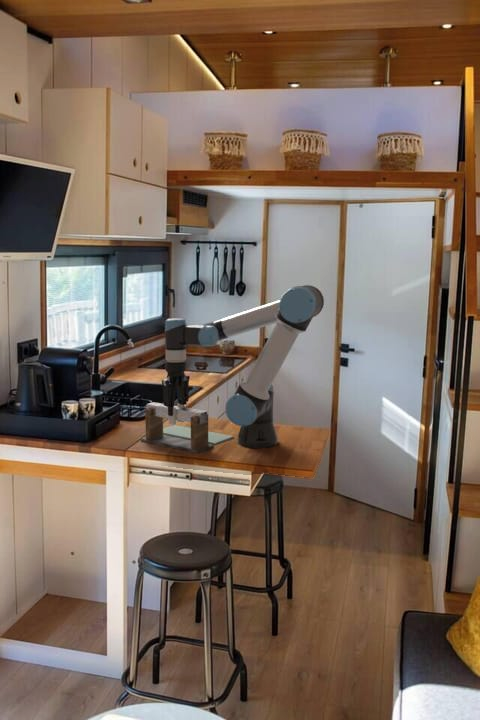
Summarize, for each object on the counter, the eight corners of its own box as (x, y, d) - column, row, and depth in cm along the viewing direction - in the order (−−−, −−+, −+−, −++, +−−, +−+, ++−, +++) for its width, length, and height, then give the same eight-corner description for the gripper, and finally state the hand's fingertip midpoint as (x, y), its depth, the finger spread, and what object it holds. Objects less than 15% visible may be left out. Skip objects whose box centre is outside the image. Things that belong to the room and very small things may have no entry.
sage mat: (233, 437, 269) (233, 436, 269) (215, 444, 259) (215, 443, 259) (174, 426, 286) (174, 425, 286) (154, 432, 276) (154, 431, 276)
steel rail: (207, 421, 252) (207, 411, 251) (200, 424, 249) (200, 413, 248) (153, 412, 267) (153, 402, 266) (146, 414, 264) (146, 404, 263)
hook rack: (213, 447, 255) (213, 414, 253) (198, 453, 248) (198, 419, 246) (156, 435, 271) (156, 404, 269) (140, 440, 264) (140, 408, 262)
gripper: (182, 357, 263) (183, 417, 267) (152, 362, 250) (153, 426, 253) (198, 358, 259) (198, 419, 263) (168, 364, 245) (169, 429, 249)
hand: (176, 422), depth 258 cm, fingers closed on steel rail, 4 cm apart
